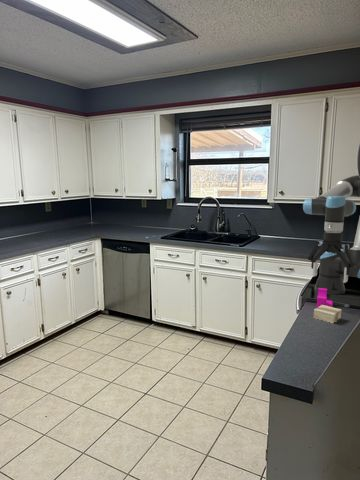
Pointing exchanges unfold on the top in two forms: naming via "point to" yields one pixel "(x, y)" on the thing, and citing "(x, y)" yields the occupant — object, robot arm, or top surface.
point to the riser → (327, 313)
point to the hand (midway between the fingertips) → (329, 278)
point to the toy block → (323, 298)
